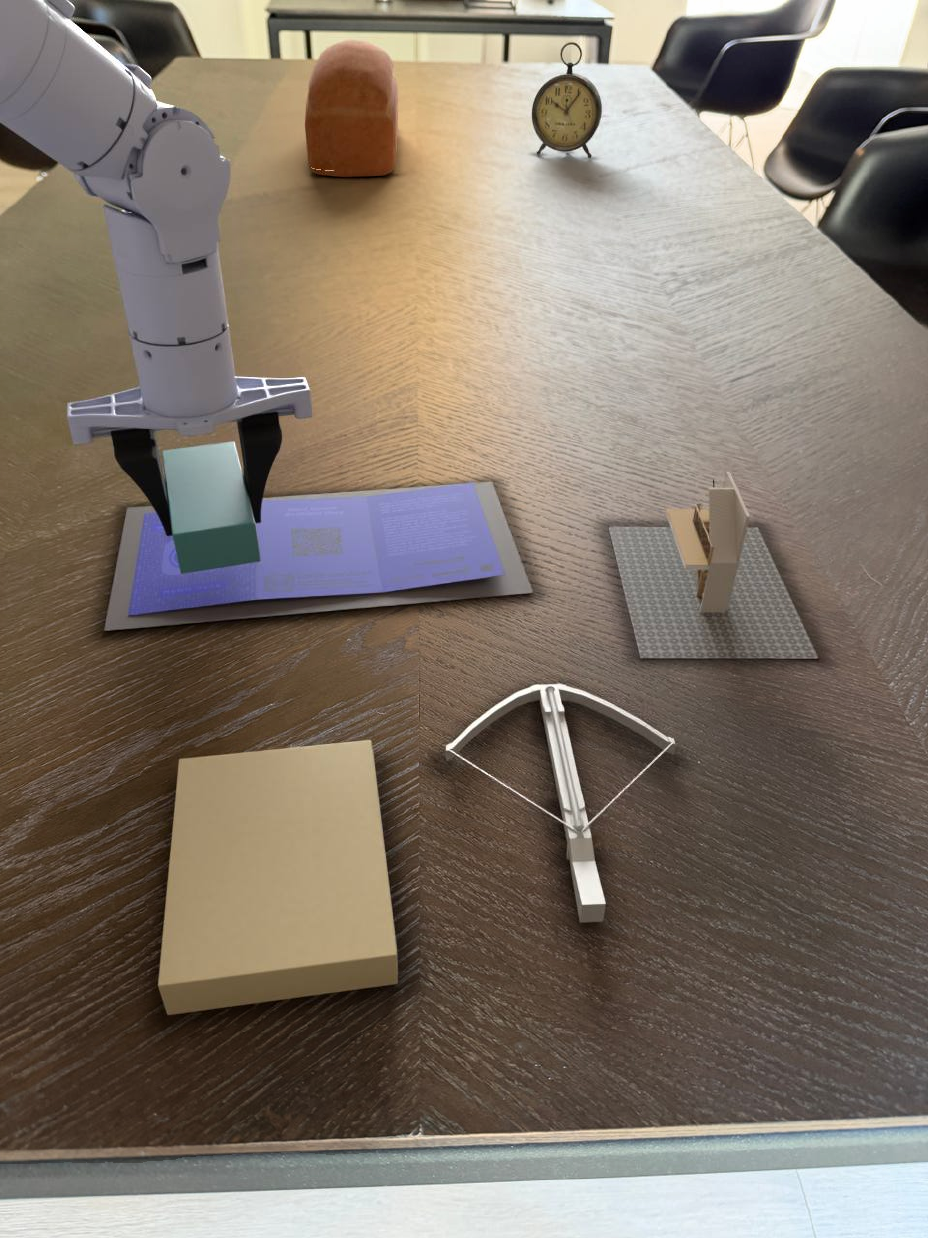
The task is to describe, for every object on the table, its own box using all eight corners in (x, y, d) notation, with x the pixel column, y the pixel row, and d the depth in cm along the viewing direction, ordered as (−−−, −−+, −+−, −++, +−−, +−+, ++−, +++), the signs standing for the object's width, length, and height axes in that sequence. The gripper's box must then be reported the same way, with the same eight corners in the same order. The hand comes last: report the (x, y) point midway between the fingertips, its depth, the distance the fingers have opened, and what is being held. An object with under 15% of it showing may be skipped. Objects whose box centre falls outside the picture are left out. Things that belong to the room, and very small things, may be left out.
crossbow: (441, 707, 58) (441, 679, 57) (649, 701, 59) (654, 674, 58) (456, 929, 45) (456, 900, 44) (723, 918, 46) (731, 889, 44)
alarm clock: (528, 156, 159) (535, 42, 149) (534, 148, 163) (540, 37, 153) (595, 161, 157) (606, 46, 147) (598, 153, 161) (609, 41, 151)
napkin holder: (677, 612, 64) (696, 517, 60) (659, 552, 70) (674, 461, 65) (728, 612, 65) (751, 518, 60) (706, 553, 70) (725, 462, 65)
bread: (305, 177, 146) (296, 60, 137) (321, 128, 172) (314, 25, 162) (396, 178, 147) (394, 61, 137) (399, 128, 172) (397, 27, 163)
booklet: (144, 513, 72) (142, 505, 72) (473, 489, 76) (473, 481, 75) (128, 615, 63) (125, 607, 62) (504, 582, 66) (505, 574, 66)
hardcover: (167, 1017, 42) (157, 986, 40) (186, 791, 52) (178, 758, 50) (399, 986, 43) (398, 954, 42) (373, 771, 53) (372, 739, 52)
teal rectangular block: (180, 574, 61) (172, 534, 59) (169, 487, 69) (161, 450, 67) (261, 561, 62) (255, 522, 60) (240, 477, 70) (235, 440, 68)
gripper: (46, 367, 52) (100, 571, 61) (313, 340, 56) (329, 537, 64) (49, 319, 57) (99, 513, 66) (293, 297, 61) (311, 484, 69)
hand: (212, 521), depth 65 cm, fingers closed on teal rectangular block, 5 cm apart
